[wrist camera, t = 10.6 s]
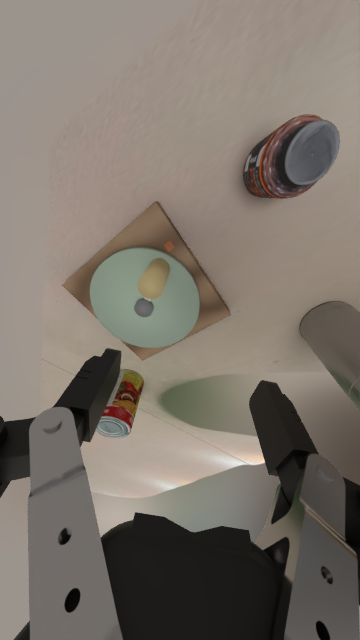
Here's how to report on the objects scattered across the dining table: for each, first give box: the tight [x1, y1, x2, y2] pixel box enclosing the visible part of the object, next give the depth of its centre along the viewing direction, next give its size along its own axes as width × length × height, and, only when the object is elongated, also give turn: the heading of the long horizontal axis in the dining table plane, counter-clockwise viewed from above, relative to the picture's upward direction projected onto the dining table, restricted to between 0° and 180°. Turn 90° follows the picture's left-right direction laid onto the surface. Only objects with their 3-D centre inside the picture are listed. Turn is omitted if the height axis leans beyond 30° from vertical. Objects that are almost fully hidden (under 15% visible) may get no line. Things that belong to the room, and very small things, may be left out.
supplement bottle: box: [244, 114, 340, 199], centre depth 20 cm, size 6×6×11 cm
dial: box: [90, 246, 200, 348], centre depth 30 cm, size 18×18×9 cm
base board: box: [62, 201, 230, 361], centre depth 34 cm, size 21×21×2 cm
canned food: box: [95, 370, 144, 438], centre depth 43 cm, size 8×8×12 cm
